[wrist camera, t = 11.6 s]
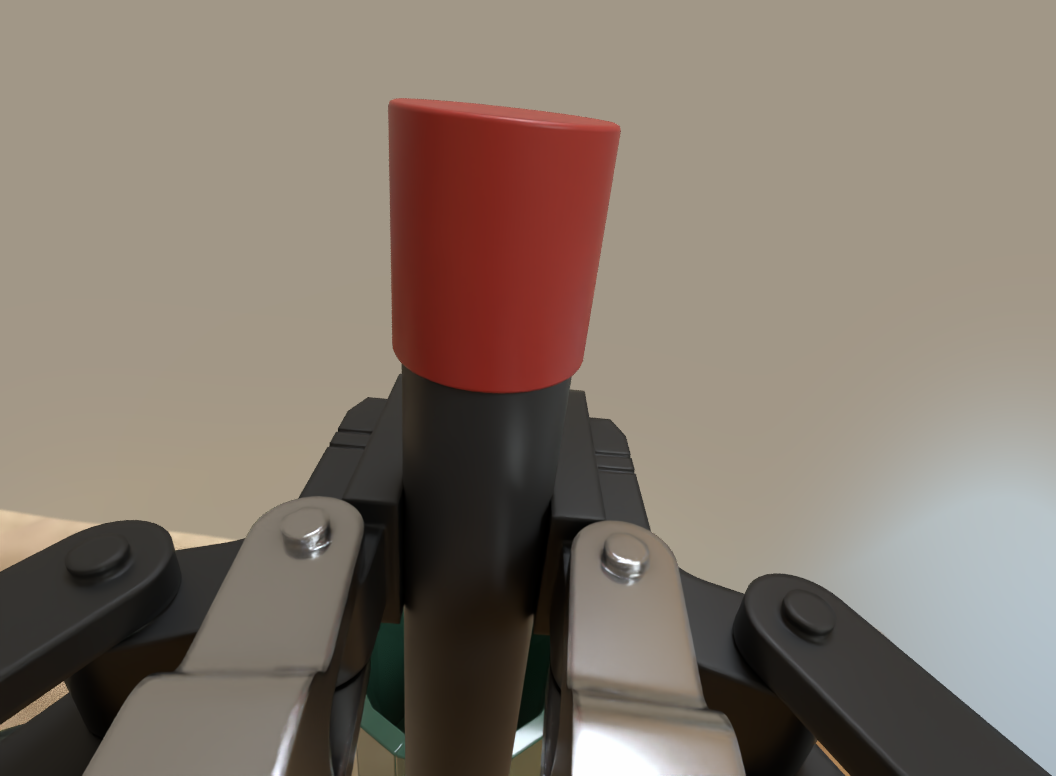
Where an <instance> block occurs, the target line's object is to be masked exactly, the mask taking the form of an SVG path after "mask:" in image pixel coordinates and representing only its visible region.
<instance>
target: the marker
mask: <svg viewBox="0 0 1056 776" xmlns="http://www.w3.org/2000/svg"><path fill="white" fill-rule="evenodd" d="M388 119H389V176H390V232H391V233H390V234H391V289H392V344H393V350H394V352H395V355H396V356H397V358H398V359H399V361H400V362H401V363H402V455H403V488H404V679H405V776H509V773H510V767H511V760H512V754H513V748H514V741H515V735H516V729H517V722H518V716H519V709H520V703H521V697H522V690H523V684H524V677H525V671H526V665H527V658H528V652H529V645H530V639H531V633H532V626H533V612H534V606H535V599H536V593H537V586H538V580H539V574H540V567H541V561H542V554H543V548H544V541H545V535H546V528H547V522H548V515H549V509H550V503H551V497H552V495H553V491H554V486H555V479H556V473H557V467H558V460H559V454H560V447H561V441H562V435H563V428H564V422H565V415H566V409H567V403H568V396H569V390H570V384H571V377H572V376H573V375H574V374H575V373H576V371H577V370H578V369H579V368H580V366H581V364H582V362H583V356H584V350H585V344H586V338H587V332H588V326H589V320H590V314H591V308H592V302H593V296H594V289H595V284H596V277H597V272H598V266H599V259H600V253H601V247H602V241H603V234H604V229H605V223H606V217H607V211H608V205H609V199H610V192H611V187H612V180H613V174H614V168H615V162H616V156H617V150H618V144H619V138H620V132H621V131H620V126H618V125H617V124H615V123H613V122H609V121H604V120H599V119H592V118H587V117H580V116H574V115H566V114H560V113H552V112H544V111H536V110H528V109H520V108H511V107H502V106H493V105H484V104H474V103H463V102H452V101H439V100H426V99H425V100H424V99H407V98H405V99H404V98H399V99H394V100H391V101H390V102H389V105H388Z"/></svg>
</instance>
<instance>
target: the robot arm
mask: <svg viewBox="0 0 1056 776" xmlns="http://www.w3.org/2000/svg"><path fill="white" fill-rule="evenodd" d="M403 609H404V488H403V455H402V374H399V376H398V378H397V380H396V382H395V384H394V387H393V389H392V391H391V393H390V395H389V397H388V399H382V398H370V397H368V398H366V399H365V400H363V401H362V402H360V403H359V404H357V405H356V406H355V407H353V408H352V409H350V410H349V411H348V412H347V414H346V416H345V417H344V419H343V421H342V422H341V424H340V426H339V428H338V432H336V433H335V435H334V436H333V438H332V440H331V442H330V446H329V447H327V449H326V451H325V453H324V454H323V456H322V458H321V459H320V461H319V463H318V465H317V466H316V468H315V470H314V472H313V473H312V475H311V477H310V479H309V480H308V482H307V484H306V486H305V488H304V489H303V491H302V493H301V495H300V496H299V498H298V499H295V500H291V501H288V502H286V503H283V504H280V505H278V506H276V507H274V508H273V509H271V510H270V511H268V512H266V513H265V514H264V515H262V516H261V517H260V518H259V519H258V520H257V521H256V522H255V523H254V524H253V526H252V527H251V529H250V531H249V532H248V534H247V536H246V538H244V539H240V540H237V541H232V542H227V543H221V544H215V545H208V546H202V547H195V548H189V549H182V550H176V551H175V548H174V545H173V541H172V538H171V536H170V534H169V533H168V531H166V530H165V529H164V528H163V527H161V526H159V525H157V524H155V523H151V522H147V521H139V520H126V521H116V522H110V523H105V524H101V525H98V526H94V527H91V528H88V529H85V530H83V531H80V532H78V533H76V534H73V535H71V536H69V537H67V538H65V539H63V540H61V541H59V542H57V543H55V544H53V545H51V546H49V547H48V548H46V549H44V550H42V551H40V552H38V553H36V554H34V555H32V556H30V557H28V558H26V559H24V560H22V561H20V562H18V563H16V564H14V565H12V566H11V567H9V568H7V569H5V570H3V571H1V572H0V724H2V723H3V722H5V721H6V720H8V719H9V718H11V717H12V716H14V715H15V714H16V713H18V712H19V711H21V710H22V709H24V708H25V707H27V706H28V705H30V704H31V703H32V702H34V701H35V700H37V699H38V698H40V697H41V696H43V695H44V694H45V693H47V692H48V691H50V690H51V689H53V688H54V687H56V686H57V685H59V684H60V683H61V682H63V681H64V682H65V684H66V686H67V688H68V690H69V693H68V694H66V695H65V696H64V697H62V698H61V699H59V700H58V701H56V702H55V703H54V704H52V705H51V706H49V707H48V708H47V709H45V710H44V711H42V712H41V713H40V714H38V715H37V716H35V717H34V718H32V719H31V720H30V721H28V722H27V723H25V724H24V725H23V726H21V727H20V728H18V729H17V730H16V731H14V732H13V733H11V734H10V735H9V736H7V737H6V738H4V739H3V740H1V741H0V776H351V775H352V770H353V764H354V759H355V754H356V748H357V743H358V737H359V732H360V726H361V721H362V715H363V710H364V704H365V699H366V694H367V688H368V683H369V677H370V672H371V654H372V651H373V649H374V645H375V642H376V638H377V634H378V631H379V627H380V624H381V623H393V624H400V621H401V617H402V613H403ZM533 634H538V635H550V657H551V659H550V664H549V669H548V675H547V681H546V693H545V708H544V722H543V737H542V752H541V767H540V776H845V775H844V774H843V773H842V772H841V771H840V770H839V768H838V767H837V766H836V765H835V764H834V763H833V762H832V761H831V760H830V759H829V758H828V756H827V755H826V754H825V753H824V752H823V751H822V750H821V749H820V748H819V747H818V745H817V744H816V742H817V740H818V741H819V742H820V743H821V744H822V745H823V746H824V747H825V748H826V749H827V751H828V752H829V753H830V754H831V755H832V756H833V757H834V758H835V759H836V760H837V761H838V762H839V764H840V765H841V766H842V767H843V768H844V769H845V770H846V771H847V772H848V773H849V774H850V775H851V776H1051V775H1050V774H1049V773H1048V772H1047V771H1045V770H1044V769H1043V768H1042V767H1041V766H1039V765H1038V764H1037V763H1036V762H1034V761H1033V760H1032V759H1031V758H1030V757H1029V756H1027V755H1026V754H1025V753H1024V752H1023V751H1022V750H1020V749H1019V748H1018V747H1017V746H1016V745H1014V744H1013V743H1012V742H1011V741H1010V740H1008V739H1007V738H1006V737H1005V736H1003V735H1002V734H1001V733H1000V732H999V731H998V730H996V729H995V728H994V727H993V726H991V725H990V724H989V723H987V722H986V720H984V719H983V718H982V717H981V716H980V715H978V714H977V713H976V712H975V711H974V710H972V709H971V708H970V707H969V706H968V705H966V704H965V703H964V702H963V701H961V700H960V699H959V698H958V697H957V696H956V695H954V694H953V693H952V692H951V691H950V690H948V689H947V688H946V687H945V686H944V685H942V684H941V683H940V682H939V681H937V680H936V679H935V678H934V677H933V676H932V675H931V674H929V673H928V672H927V671H926V670H924V669H923V668H922V667H921V666H920V665H918V664H917V663H916V662H915V661H914V660H913V659H911V658H910V657H909V656H908V655H907V654H905V653H904V652H903V651H902V650H900V649H899V648H898V647H897V646H896V645H895V644H893V643H892V642H891V641H890V640H889V639H887V638H886V637H885V636H884V635H883V634H881V633H880V632H879V631H878V630H877V629H875V628H874V627H873V626H872V625H871V624H869V623H868V622H867V621H866V620H865V619H863V618H862V617H861V616H860V615H858V614H857V613H856V612H855V611H854V610H853V609H851V608H850V607H849V606H848V605H847V604H845V603H844V602H843V601H842V600H841V599H839V598H838V597H837V596H835V595H834V594H833V593H831V592H829V591H828V590H827V589H825V588H823V587H821V586H820V585H818V584H816V583H814V582H811V581H809V580H806V579H804V578H800V577H797V576H793V575H788V574H767V575H764V576H761V577H758V578H757V579H755V580H753V581H752V583H750V585H749V586H748V588H747V590H746V592H745V594H743V593H740V592H737V591H734V590H731V589H728V588H725V587H722V586H719V585H716V584H713V583H710V582H707V581H704V580H702V579H700V578H697V577H695V576H693V575H691V574H689V573H687V572H685V571H684V570H682V569H681V568H679V567H678V564H677V561H676V558H675V556H674V554H673V552H672V551H671V549H670V548H669V547H668V545H667V544H666V543H665V542H664V541H663V540H662V539H660V538H659V537H658V536H657V535H655V534H654V533H652V532H651V530H650V526H649V522H648V518H647V515H646V511H645V507H644V503H643V500H642V496H641V492H640V489H639V485H638V481H637V477H636V474H634V466H633V462H632V458H630V451H629V447H628V443H627V439H626V436H625V435H624V434H623V433H622V432H621V430H620V429H619V428H618V427H617V426H616V425H615V424H614V423H613V422H612V421H611V420H610V419H600V418H590V417H589V414H588V408H587V402H586V396H585V392H584V391H581V390H580V391H579V390H569V396H568V403H567V409H566V415H565V422H564V428H563V435H562V441H561V447H560V454H559V460H558V467H557V473H556V479H555V486H554V491H553V495H552V497H551V503H550V509H549V515H548V522H547V528H546V535H545V541H544V548H543V554H542V561H541V567H540V574H539V580H538V586H537V593H536V599H535V606H534V612H533Z"/></svg>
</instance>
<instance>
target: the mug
mask: <svg viewBox="0 0 1056 776" xmlns="http://www.w3.org/2000/svg"><path fill="white" fill-rule="evenodd" d="M550 659H551V657H550V635H538V634H533V626H532V633H531V639H530V645H529V652H528V658H527V665H526V671H525V677H524V684H523V690H522V697H521V703H520V709H519V716H518V722H517V729H516V735H515V741H514V748H513V754H512V760H511V767H510V773H509V776H540V767H541V752H542V737H543V722H544V708H545V693H546V681H547V675H548V669H549V664H550ZM351 776H405V679H404V609H403V613H402V617H401V621H400V624H393V623H381V624H380V627H379V631H378V634H377V638H376V642H375V645H374V649H373V651H372V654H371V672H370V677H369V683H368V688H367V694H366V699H365V704H364V710H363V715H362V721H361V726H360V732H359V737H358V743H357V748H356V754H355V759H354V764H353V770H352V775H351Z"/></svg>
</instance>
